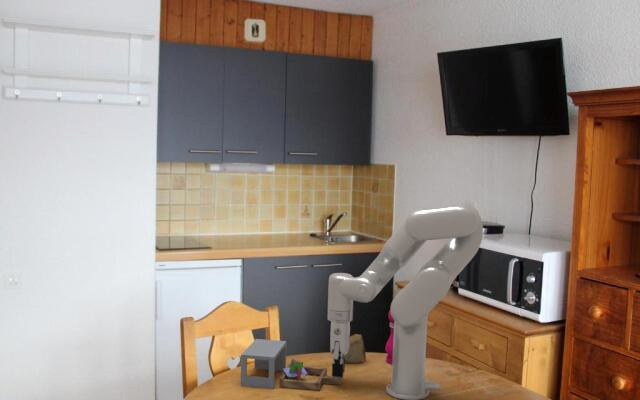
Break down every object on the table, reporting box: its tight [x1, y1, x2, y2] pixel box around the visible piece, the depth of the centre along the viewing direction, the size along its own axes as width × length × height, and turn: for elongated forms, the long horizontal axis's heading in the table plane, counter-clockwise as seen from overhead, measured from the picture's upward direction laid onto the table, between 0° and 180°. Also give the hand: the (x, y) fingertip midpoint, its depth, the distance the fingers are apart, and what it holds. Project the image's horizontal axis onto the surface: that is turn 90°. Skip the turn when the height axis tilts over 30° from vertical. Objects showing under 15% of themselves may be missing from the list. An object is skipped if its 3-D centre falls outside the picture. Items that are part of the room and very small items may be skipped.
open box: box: [240, 338, 287, 390], centre depth 208 cm, size 10×17×10 cm, turn 171°
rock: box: [343, 333, 367, 364], centre depth 227 cm, size 11×9×10 cm
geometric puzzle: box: [283, 358, 309, 381], centre depth 206 cm, size 7×7×8 cm
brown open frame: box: [279, 359, 344, 391], centre depth 206 cm, size 18×14×7 cm
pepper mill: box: [384, 310, 395, 365], centre depth 227 cm, size 7×7×20 cm
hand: (338, 373), depth 205 cm, fingers closed on brown open frame, 3 cm apart
